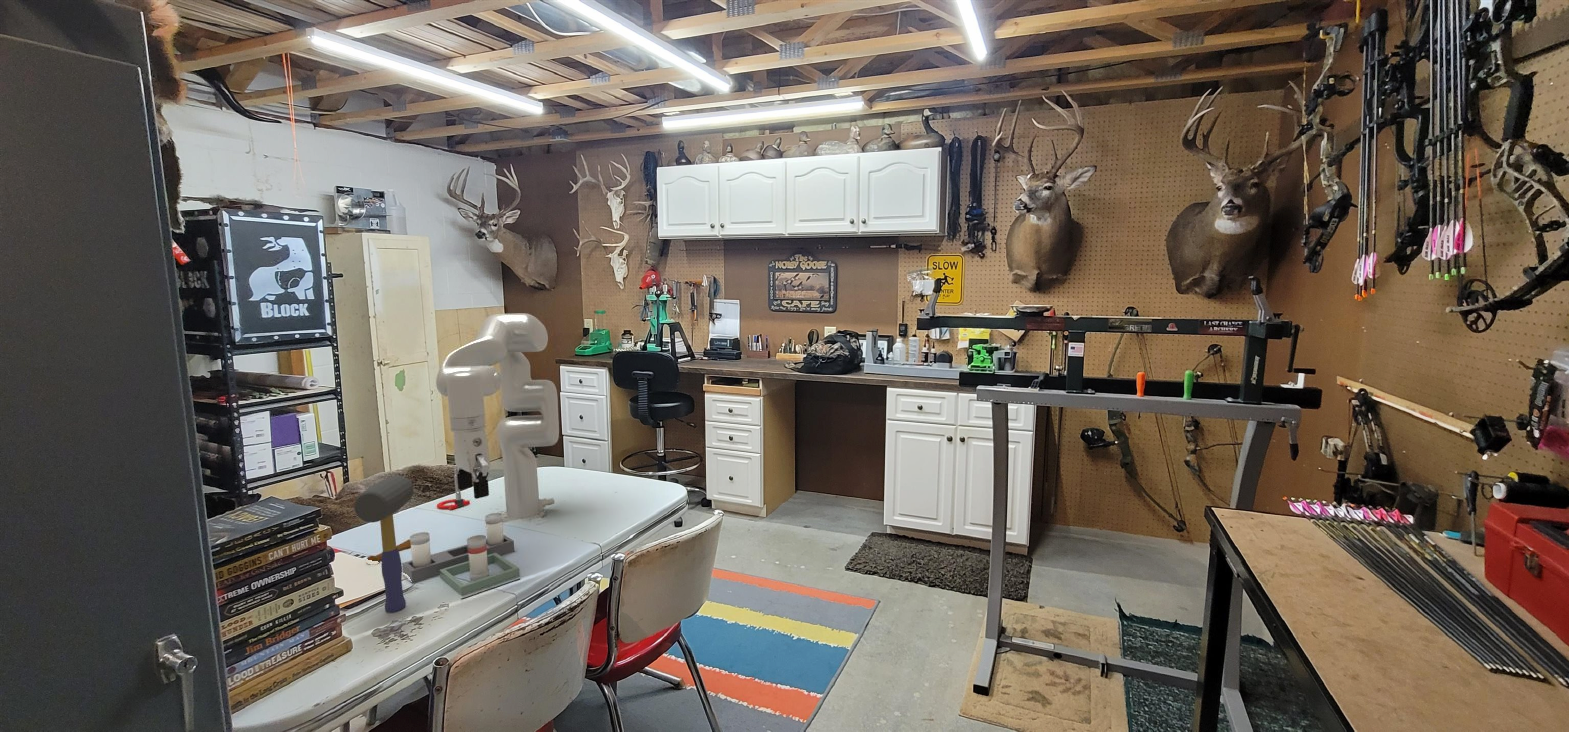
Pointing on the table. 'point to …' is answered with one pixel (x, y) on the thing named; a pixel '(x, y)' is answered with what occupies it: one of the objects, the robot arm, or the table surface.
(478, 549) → the cylinder
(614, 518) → the table surface
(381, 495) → the rubber mallet
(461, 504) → the tow hook
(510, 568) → the tray
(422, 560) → the cylinder
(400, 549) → the primitive tool
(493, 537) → the cylinder
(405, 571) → the fuse holder
